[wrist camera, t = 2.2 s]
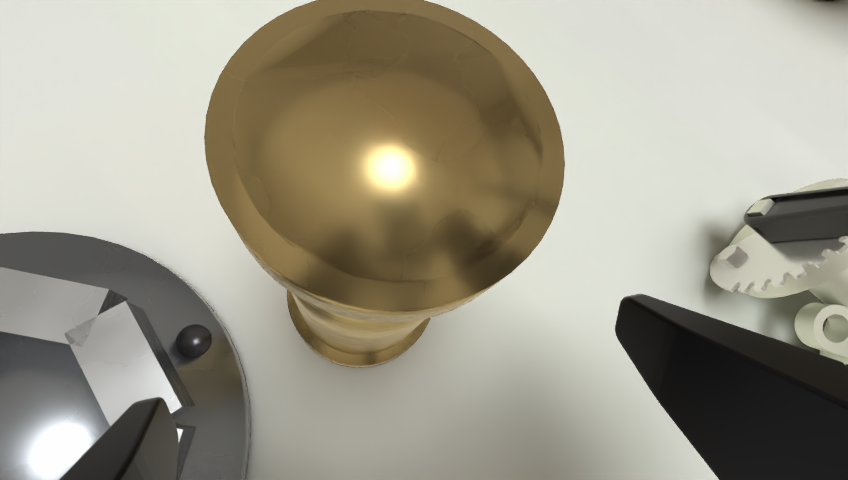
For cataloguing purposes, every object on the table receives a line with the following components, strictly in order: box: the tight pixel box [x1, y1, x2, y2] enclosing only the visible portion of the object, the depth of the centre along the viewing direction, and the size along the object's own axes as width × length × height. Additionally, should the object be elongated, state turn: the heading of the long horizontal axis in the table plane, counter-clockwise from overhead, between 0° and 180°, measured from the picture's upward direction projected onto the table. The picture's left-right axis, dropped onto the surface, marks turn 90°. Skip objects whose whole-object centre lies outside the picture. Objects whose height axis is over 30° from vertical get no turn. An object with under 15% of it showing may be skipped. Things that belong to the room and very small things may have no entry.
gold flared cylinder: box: [204, 0, 565, 368], centre depth 14 cm, size 6×6×13 cm
